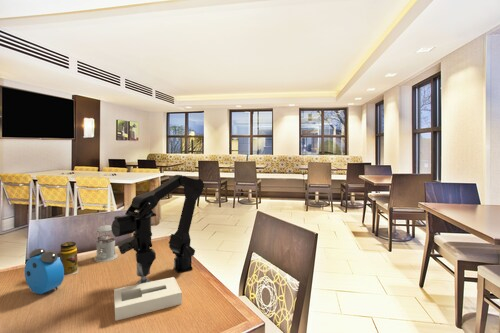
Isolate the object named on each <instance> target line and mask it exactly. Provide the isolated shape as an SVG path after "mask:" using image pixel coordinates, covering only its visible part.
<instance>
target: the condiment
mask: <svg viewBox="0 0 500 333" xmlns="http://www.w3.org/2000/svg"><path fill="white" fill-rule="evenodd" d="M59 259H60V260H61V262H62V265H63V268H64V276H70V275H76V274H79V273H80V271H79V270H80V267H79V265H78V263H79V262H78V249H77V243H76V242H75V241H65V242H63V243H61V244H60V250H59Z"/></svg>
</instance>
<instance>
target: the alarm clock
mask: <svg viewBox="0 0 500 333" xmlns="http://www.w3.org/2000/svg"><path fill="white" fill-rule="evenodd" d="M24 279H25V281H26V284H27V287H28V288H29V290H31V292H33V294H35V295H36V294H37V295H43V294H45V293H47V292H49V291H51V290H54V289H55V290H56V291H58V289H59V288H58V287H60V286H61V285H62V283H63V281H64V268H63V265H62V262H61V260H60V256H58V254H57V252H56V251H53V250H48V251H46V249H44V248H41V247H40V248H34V249H33V250H32V251H30V253H29V254H28V260H27V261H26V263H25V267H24Z"/></svg>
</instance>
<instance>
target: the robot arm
mask: <svg viewBox="0 0 500 333" xmlns="http://www.w3.org/2000/svg"><path fill="white" fill-rule="evenodd" d="M180 187H183V194H184V196H185V197H184V200H183V201H184V202H183V206H182V210H181V213H180V218H179V222H178V225H177V230H176V231H175V233H171V234H170V236H169V237H170V238H169V241H168V244H169V246H168V247H169V249H170V251H171V252H172V254H173V255H174V256H175V257H174V258H173V268H174V270H176V273H183V272H187V271H189V272H190V271H193V270H194V269H193V267H192V264H193V263H192V260H193V259H192V257H193V256H195V253H196V250H195V248H193V247H192V246H191V242H192V241H191V240H192V239H191V236H190V228H191V225H192V221H193V218H194V212H195V209H196V204H197V200H198V199H199V198H200V196H201V195H202V194H203V190H204V188H205V183H204V181H203V179H200V178H193V177H188V176H185V175H184V174H175V175H174V176H172V178H170V179H168V180H167V181H165V182H163V183H162V184H161V185H159V186H157V187H155V188H154V189H152V190H150V191H147V192H142V193H141V194H138V195H135V196H134V197H133V198H132V200H131V203H130V205H129V206H128V209H127V210H126V212H125V213H124V215H117V216H114V220H113V221H112V224H111V225H110V226H111V229H112V231H111V232H112V235H113V236H114V238H118V237H123V236H126V235H129V234H130V235H131V234H132V236H130V237H127V238H124V239H123V240H121V241H119V242H118V243H117V248H118V250H119V252H120V254H121V255H124V254H127V252H129V251H131V250H133V251H135V260H136V264H137V263H139V264H141V267H142V271H143V276H146V277H147V276H148V275H147V274H148V272H149V270H150V271H151V267H152V265H153V263H154V261H155V260H156V259H157V257H156V255H157V254H156V251H155V250H154V248H153V242H152V236H153V233H152V218H153V217H157V213H155V212H154V211H153V210H154V208H156V207H157V205H159V202H160V201H161V200H163V198H165V197H166V196H168V195H170V194H171V193H172V192H174V191H175V190H177V189H178V188H180Z"/></svg>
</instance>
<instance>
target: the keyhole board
mask: <svg viewBox="0 0 500 333" xmlns="http://www.w3.org/2000/svg"><path fill="white" fill-rule="evenodd" d="M113 296H114V297H113V299H114V300H113V301H114V303H113V304H114V321H116V322H117V321H122V320H124V319H128V318H132V317H136V316H139V315H143V314H149V313H151V312H155V311H159V310H163V309H167V308H171V307H175V306H178V305H182V304H183V292H182V290H181V288H180V286H179V284H178V282H177V280H176V278H175V277H174V276H172V277H168V278H161V279H156V280H151V281H150V282H147V283H142V284H137V283H136V284H133V285H129V286H128V285H127V286H123V287H118V288H114V289H113Z"/></svg>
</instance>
